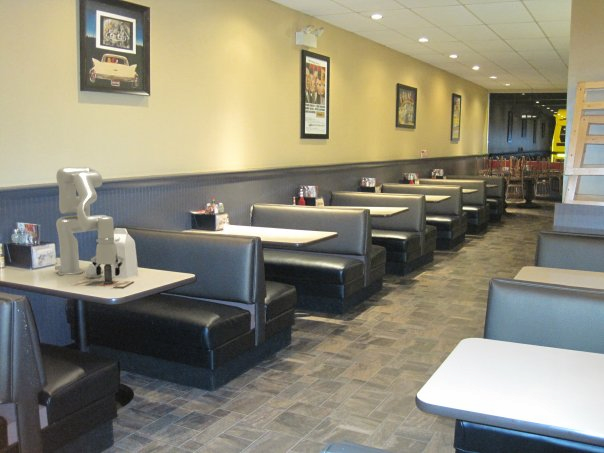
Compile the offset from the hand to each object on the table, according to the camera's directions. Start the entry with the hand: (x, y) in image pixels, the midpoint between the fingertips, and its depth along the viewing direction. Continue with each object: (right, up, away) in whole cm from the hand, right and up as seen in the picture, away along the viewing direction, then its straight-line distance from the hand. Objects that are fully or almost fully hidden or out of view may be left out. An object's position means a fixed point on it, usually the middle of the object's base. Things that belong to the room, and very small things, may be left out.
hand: (108, 275), depth 300 cm
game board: (-3, -5, +1) cm, 6 cm away
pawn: (0, -4, 0) cm, 4 cm away
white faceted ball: (-13, -3, +16) cm, 21 cm away
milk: (+1, -3, +21) cm, 21 cm away
